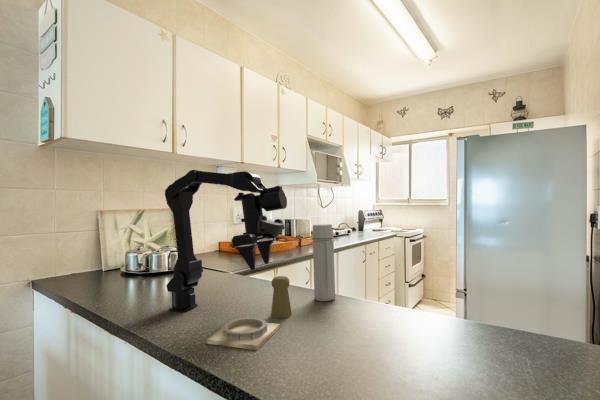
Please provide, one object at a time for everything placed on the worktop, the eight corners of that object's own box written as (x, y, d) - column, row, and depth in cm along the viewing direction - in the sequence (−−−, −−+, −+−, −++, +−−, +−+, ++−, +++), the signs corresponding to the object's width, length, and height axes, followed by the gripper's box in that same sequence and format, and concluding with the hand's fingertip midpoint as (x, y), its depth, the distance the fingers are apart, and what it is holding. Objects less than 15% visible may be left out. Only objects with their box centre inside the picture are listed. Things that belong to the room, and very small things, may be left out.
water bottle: (310, 297, 107) (308, 224, 108) (332, 295, 109) (329, 223, 110) (318, 305, 98) (316, 226, 99) (342, 302, 100) (339, 225, 101)
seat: (206, 343, 72) (206, 332, 72) (235, 323, 85) (235, 314, 85) (257, 350, 68) (256, 338, 68) (280, 327, 80) (279, 318, 80)
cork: (289, 318, 87) (287, 279, 87) (268, 317, 88) (267, 278, 88) (293, 311, 93) (292, 274, 93) (274, 310, 94) (273, 274, 94)
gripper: (264, 210, 81) (272, 270, 80) (289, 209, 98) (296, 258, 97) (227, 216, 84) (234, 274, 83) (257, 214, 102) (264, 262, 101)
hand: (260, 266), depth 91 cm, fingers open, 9 cm apart
